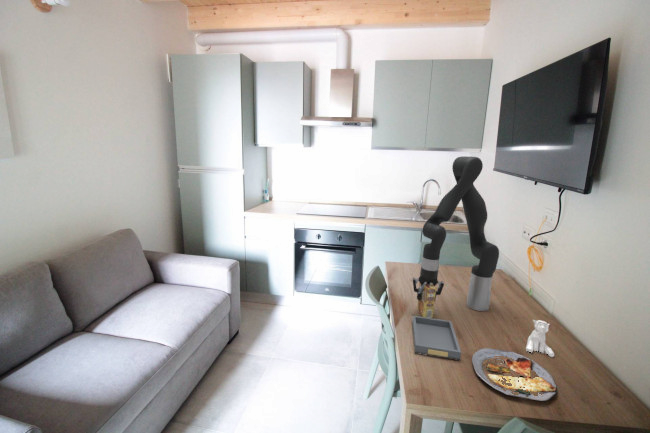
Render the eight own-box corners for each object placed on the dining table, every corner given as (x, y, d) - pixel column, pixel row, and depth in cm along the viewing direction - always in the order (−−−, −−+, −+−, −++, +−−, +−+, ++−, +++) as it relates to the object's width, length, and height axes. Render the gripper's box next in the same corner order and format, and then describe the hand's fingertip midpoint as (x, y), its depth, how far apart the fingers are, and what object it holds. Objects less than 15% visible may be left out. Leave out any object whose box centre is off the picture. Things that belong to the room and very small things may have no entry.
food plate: (537, 359, 114) (539, 351, 113) (570, 411, 92) (573, 402, 91) (465, 349, 120) (466, 341, 119) (480, 396, 98) (482, 387, 97)
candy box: (433, 318, 140) (436, 287, 136) (424, 318, 139) (427, 287, 135) (424, 308, 148) (427, 279, 145) (415, 308, 148) (419, 279, 144)
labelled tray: (450, 328, 132) (451, 321, 132) (460, 361, 112) (461, 353, 111) (412, 322, 136) (412, 315, 135) (414, 353, 116) (415, 345, 115)
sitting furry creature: (526, 353, 118) (532, 325, 115) (518, 339, 126) (524, 313, 123) (554, 358, 116) (561, 330, 113) (545, 344, 124) (551, 317, 121)
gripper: (445, 265, 140) (440, 299, 144) (412, 262, 143) (409, 295, 147) (448, 272, 133) (443, 307, 137) (413, 268, 136) (410, 302, 140)
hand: (425, 300), depth 142 cm, fingers closed on candy box, 5 cm apart
